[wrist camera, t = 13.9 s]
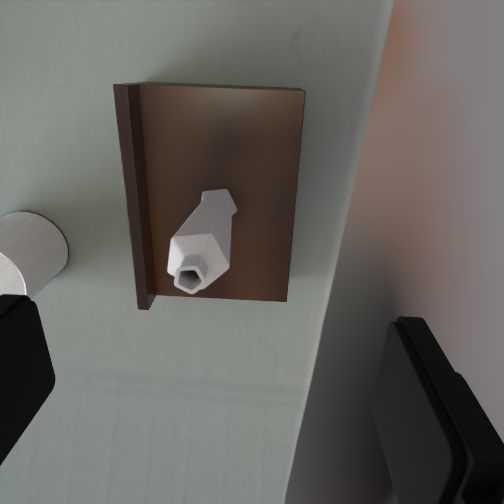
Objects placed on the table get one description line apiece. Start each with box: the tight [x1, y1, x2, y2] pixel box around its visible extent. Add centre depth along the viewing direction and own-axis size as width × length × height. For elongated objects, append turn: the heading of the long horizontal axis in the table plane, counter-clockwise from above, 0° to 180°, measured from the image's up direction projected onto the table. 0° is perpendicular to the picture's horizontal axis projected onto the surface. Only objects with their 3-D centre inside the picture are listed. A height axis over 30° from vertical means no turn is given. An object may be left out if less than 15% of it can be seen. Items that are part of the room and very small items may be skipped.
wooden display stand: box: [113, 82, 305, 310], centre depth 39 cm, size 16×22×8 cm
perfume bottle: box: [167, 189, 237, 294], centre depth 32 cm, size 5×4×15 cm
